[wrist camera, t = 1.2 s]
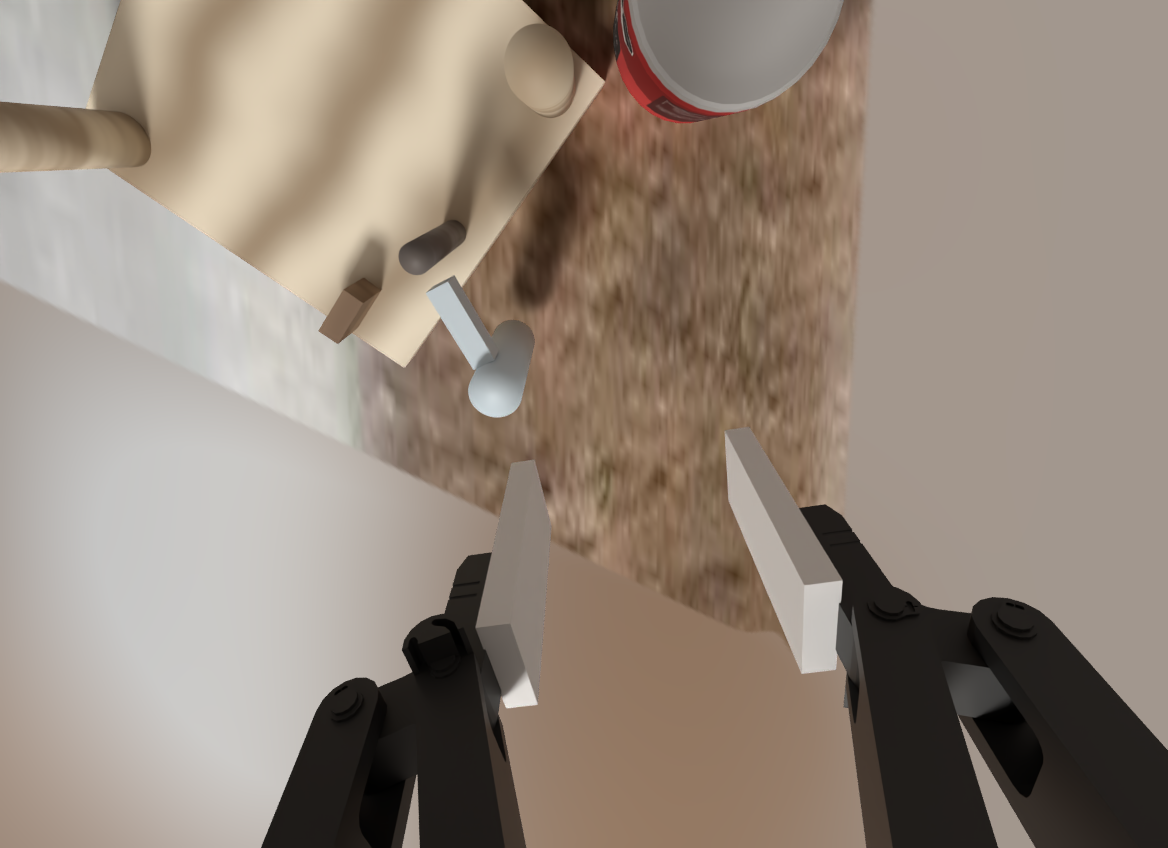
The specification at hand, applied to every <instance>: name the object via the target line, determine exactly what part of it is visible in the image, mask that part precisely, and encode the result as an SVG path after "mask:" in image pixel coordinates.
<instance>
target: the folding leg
mask: <svg viewBox="0 0 1168 848" xmlns="http://www.w3.org/2000/svg"><path fill="white" fill-rule="evenodd" d="M426 295H427V296H428V298H429V299H430V301H431V303H432V304H433V306H434V307H435V309H436V311H437V312H438V314H439V315H440V317H441V319H442V320H443V322H444V323H445V325H446V327H447V328H448V330H449V331H450V333H451V335H452V336H453V338H454V339H455V341H456V343H457V344H458V346H459V347H460V349H461V351H462V352H463V354H464V355H465V357H466V359H467V360H468V362H469V363H470V365H471V367H472V368H473V370H475V369H476V371H475V373H474V375H473V377H472V380H471V382H470V384H469V389H468V393H469V398H470V401H471V403H472V404H473V406H474V407H475V408H476V409H477V410H478V411H479V412H481V413H483V414H485V415H487V416H491V417H504V416H507V415H509V414H511V413H513V412H514V411H515V410H516V409H517V408H518V406H519V405H520V402H521V399H522V395H523V391H524V386H525V382H526V378H527V374H528V369H529V365H530V361H531V357H532V352H533V348H534V343H535V339H534V335H533V332H532V331H531V329H530V328H529V327H528V326H527V325H526V324H524V323H523V322H520V321H517V320H508V321H505V322H503V323H501V324H500V325H498V326H497V328H496V329H495V331H494V333H493V335H492V337H491V336H490V335H489V333H488V331H487V330H486V328H485V326H484V324H483V323H482V321H481V319H480V318H479V316H478V314H477V313H476V311H475V309H474V307H473V306H472V304H471V302H470V301H469V299H468V297H467V296H466V294H465V292H464V291H463V289H462V287H461V285H460V284H459V282H458V280H457V279H456V277H455V275H453V276H452V277H450V278H448V279H446V280H444V281H442V282H440V283H438V284H436V285H434V286H433V287H432V288H431V289H430V290H428V291H427V292H426Z"/></svg>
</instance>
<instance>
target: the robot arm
mask: <svg viewBox="0 0 1168 848" xmlns="http://www.w3.org/2000/svg"><path fill="white" fill-rule="evenodd" d="M725 444H726V462H727V480H728V498H729V503H730V505H731V507H732V510H733V512H734V515H735V517H736V519H737V522H738V524H739V526H740V529H741V531H742V534H743V536H744V538H745V541H746V543H747V545H748V548H749V550H750V552H751V555H752V557H753V560H754V562H755V564H756V567H757V569H758V571H759V574H760V576H761V579H762V581H763V583H764V586H765V588H766V590H767V593H768V595H769V597H770V600H771V602H772V605H773V607H774V609H775V612H776V614H777V616H778V619H779V621H780V624H781V626H782V628H783V631H784V633H785V635H786V638H787V640H788V642H789V645H790V647H791V650H792V652H793V654H794V657H795V659H796V661H797V664H798V666H799V668H800V671H801V673H802V674H803V673H811V672H819V671H828V670H836V662H837V654H838V656H839V658H840V660H841V661H842V663H843V665H844V667H845V669H846V671H847V675H846V686H845V697H844V707H845V708H849V716H850V723H851V731H852V739H853V747H854V755H855V762H856V769H857V778H858V785H859V793H860V801H861V809H862V817H863V824H864V832H865V840H866V848H998V846H997V843H996V839H995V837H994V833H993V830H992V826H991V823H990V820H989V817H988V813H987V810H986V807H985V804H984V800H983V797H982V794H981V791H980V787H979V784H978V781H977V778H976V774H975V771H974V768H973V765H972V761H971V758H970V755H969V752H968V748H967V745H966V742H965V739H964V735H963V732H962V729H961V726H960V723H959V719H958V716H959V718H960V720H961V721H962V723H963V725H964V726H965V728H966V730H967V731H968V733H969V735H970V737H971V738H972V740H973V742H974V743H975V745H976V747H977V749H978V750H979V752H980V754H981V755H982V757H983V759H984V760H985V762H986V764H987V766H988V767H989V769H990V771H991V772H992V774H993V776H994V778H995V779H996V781H997V782H998V784H999V786H1000V788H1001V789H1002V791H1003V793H1004V794H1005V796H1006V798H1007V800H1008V801H1009V803H1010V805H1011V807H1012V808H1013V810H1014V812H1015V813H1016V815H1017V817H1018V818H1019V820H1020V822H1021V824H1022V825H1023V827H1024V829H1025V830H1026V832H1027V834H1028V836H1029V837H1030V839H1031V841H1032V842H1033V844H1034V846H1035V847H1036V848H1168V750H1167V749H1166V748H1165V747H1164V746H1163V744H1162V743H1161V742H1160V741H1159V740H1158V739H1157V738H1156V737H1155V736H1154V735H1153V733H1152V732H1151V731H1150V730H1149V729H1148V728H1147V727H1146V726H1145V724H1143V722H1142V721H1141V720H1140V719H1139V718H1138V717H1137V716H1136V714H1135V713H1134V712H1133V711H1132V710H1131V709H1130V708H1129V707H1128V706H1127V704H1126V703H1125V702H1124V701H1123V700H1122V699H1121V698H1120V697H1119V695H1118V694H1117V693H1116V692H1115V691H1114V690H1113V689H1112V688H1111V686H1110V685H1109V684H1108V683H1107V682H1106V681H1105V680H1104V679H1103V678H1102V676H1101V675H1100V674H1099V673H1098V672H1097V671H1096V670H1095V669H1094V668H1093V666H1092V665H1091V664H1090V663H1089V662H1088V661H1087V660H1086V659H1085V658H1084V656H1083V655H1082V654H1081V653H1080V652H1079V651H1078V650H1077V649H1076V647H1074V645H1073V644H1072V643H1071V642H1070V641H1069V640H1068V639H1067V637H1065V635H1064V634H1063V633H1062V632H1061V631H1060V630H1059V629H1058V627H1057V626H1056V625H1055V624H1054V623H1053V622H1052V621H1051V620H1050V619H1049V618H1048V617H1046V616H1045V615H1044V614H1043V613H1041V612H1040V611H1039V610H1037V609H1035V608H1033V607H1031V606H1029V605H1027V604H1025V603H1022V602H1019V601H1015V600H1012V599H1008V598H996V597H992V598H987V599H983V600H980V601H979V602H978V603H977V604H975V605H974V606H973V609H972V613H964V612H956V611H947V610H939V609H934V608H929V607H926V606H923V605H921V603H920V602H919V601H918V600H917V599H915V598H914V597H913V596H912V595H911V594H909V593H907V592H905V591H902V590H901V589H899V588H896V587H893V586H892V585H891V584H890V582H889V581H888V579H887V578H886V576H885V575H884V574H883V573H882V571H881V569H880V568H879V567H878V565H877V564H876V563H875V561H874V560H873V559H872V557H871V555H870V554H869V553H868V551H867V550H866V549H865V547H864V546H863V544H861V543H860V540H859V539H858V537H857V536H856V534H855V533H854V532H852V529H851V527H850V526H849V525H848V523H847V522H846V520H845V519H844V518H843V516H842V515H841V514H839V513H837V512H836V511H834V510H833V509H831V508H830V507H828V506H827V505H818V506H811V507H803V508H798V506H797V505H796V503H795V501H794V500H793V498H792V496H791V495H790V493H789V491H788V490H787V488H786V486H785V485H784V483H783V482H782V480H781V478H780V477H779V475H778V473H777V472H776V470H775V468H774V467H773V465H772V463H771V462H770V460H769V459H768V457H767V455H766V454H765V452H764V450H763V449H762V447H761V445H760V444H759V442H758V440H757V439H756V437H755V436H754V434H753V432H752V431H751V429H750V427H745V428H738V429H732V430H725ZM550 539H551V522H550V518H549V514H548V510H547V507H546V503H545V499H544V495H543V491H542V487H541V483H540V479H539V475H538V471H537V467H536V463H535V460H529V461H522V462H516V463H511V468H510V472H509V477H508V482H507V486H506V491H505V495H504V500H503V504H502V509H501V513H500V518H499V523H498V527H497V532H496V536H495V541H494V546H493V550H492V552H491V553H484V554H477V555H470V556H468V557H467V558H466V559H465V560H464V562H463V563H462V564H461V566H460V567H459V568H458V569H457V572H456V575H455V579H454V583H453V588H452V590H451V593H450V596H449V600H448V603H447V606H446V610H445V613H444V614H440V615H435V616H431V617H429V618H427V619H425V620H423V621H421V622H420V623H419V624H418V625H416V626H415V627H414V628H413V629H412V630H411V631H410V632H409V634H408V635H407V637H406V638H405V640H404V643H403V648H402V651H403V653H404V655H405V657H406V659H407V661H408V664H409V665H410V668H411V669H412V673H410V674H408V675H406V676H404V677H402V678H400V679H397V680H395V681H392V682H390V683H387V684H385V685H383V686H380V687H377V685H376V684H375V682H374V681H372V680H370V679H368V678H354V679H352V680H349V681H346V682H344V683H342V684H341V685H339V686H338V687H336V688H334V689H333V690H332V691H331V692H330V693H329V694H328V695H327V696H326V697H325V698H324V699H323V700H322V702H321V704H320V706H319V707H318V709H317V711H316V713H315V715H314V718H313V720H312V723H311V725H310V728H309V730H308V733H307V735H306V738H305V740H304V743H303V745H302V748H301V750H300V753H299V755H298V758H297V760H296V762H295V765H294V767H293V770H292V772H291V775H290V777H289V780H288V782H287V785H286V787H285V790H284V792H283V795H282V797H281V800H280V802H279V805H278V807H277V810H276V812H275V814H274V817H273V819H272V822H271V825H270V827H269V829H268V832H267V834H266V837H265V839H264V842H263V844H262V847H261V848H402V844H403V839H404V834H405V829H406V824H407V819H408V814H409V809H410V804H411V798H412V794H413V789H414V784H415V779H416V775H417V774H418V800H419V801H418V802H419V835H420V848H526V845H525V839H524V834H523V829H522V824H521V819H520V814H519V808H518V803H517V798H516V792H515V788H514V782H513V777H512V772H511V767H510V761H509V756H508V751H507V745H506V740H505V735H504V730H503V725H502V722H501V720H500V717H499V715H498V711H499V704H500V697H501V696H502V698H503V701H504V703H505V706H506V708H512V707H521V706H530V705H537V704H538V695H539V682H540V669H541V656H542V643H543V630H544V617H545V603H546V590H547V578H548V565H549V552H550ZM957 714H958V716H957Z"/></svg>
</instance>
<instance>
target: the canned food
mask: <svg viewBox="0 0 1168 848" xmlns="http://www.w3.org/2000/svg"><path fill="white" fill-rule="evenodd" d="M843 1H844V0H618V1H617V6H616V11H615V18H614V25H613V41H614V51H615V56H616V62H617V65H618V68H619V71H620V74H621V77H622V79H623V81H624V83H625V85H626V86H627V88H628V90H629V92H630V93H631V95H632V96H633V97H634V98H635V99H636V101H637V102H638V103H639V104H640V105H641V106H642V107H643V108H645V109H646V110H647V111H648V112H650V113H651V114H653V115H655V116H657V117H659V118H661V119H663V120H666V121H670V122H675V123H693V122H698V121H702V120H707V119H711V118H716V117H721V116H725V115H730V114H734V113H738V112H742V111H747V110H749V109H752V108H756V107H758V106H760V105H762V104H764V103H766V102H768V101H770V100H772V99H774V98H776V97H777V96H779V95H780V94H781V93H783V92H784V91H785V90H787V89H788V88H789V87H791V86H792V85H793V84H795V83H796V82H797V81H798V80H799V79H800V78H801V77H802V76H803V75H804V73H805V72H806V71H807V70H808V69H809V68H810V67H811V66H812V65H813V63H814V62H815V60H816V59H817V57H818V56H819V54H820V53H821V51H822V50H823V48H824V47H825V45H826V44H827V42H828V40H829V38H830V36H831V33H832V31H833V29H834V27H835V25H836V23H837V21H838V18H839V15H840V11H841V8H842V5H843Z"/></svg>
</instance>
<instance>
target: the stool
mask: <svg viewBox="0 0 1168 848" xmlns="http://www.w3.org/2000/svg"><path fill="white" fill-rule="evenodd" d="M604 83H605V81H604V80H603V79H602V78H601V77H600V76H599V75H598V74H597V73H596V72H595V71H594V70H593V69H592V68H591V67H590V66H588V65H587V64H586V63H585V62H584V61H583V60H582V59H581V58H580V57H579V56H578V55H577V54H576V53H575V52H574V51H573V50H572V49H571V48H570V47H569V45H568V43H567V41H566V40H565V39H564V37H563V36H562V35H561V34H560V33H559V32H558V31H557V30H555V29H554V28H552V27H550V26H548V25H547V24H546V23H545V22H544V21H543V20H542V19H541V18H540V17H539V16H538V15H537V14H536V13H535V12H534V11H533V10H532V9H531V8H530V7H529V6H528V5H527V4H526V3H525V2H523V1H522V0H121V1H120V4H119V7H118V10H117V13H116V16H115V19H114V22H113V26H112V29H111V32H110V35H109V38H108V41H107V44H106V47H105V50H104V53H103V57H102V60H101V63H100V66H99V69H98V72H97V75H96V78H95V81H94V84H93V88H92V91H91V94H90V97H89V100H88V103H87V106H86V109H82V108H70V107H58V106H46V105H34V104H21V103H9V102H0V173H2V172H27V171H52V170H77V169H102V168H107V169H109V170H110V171H112V172H113V173H115V174H116V175H118V176H119V177H121V178H122V179H124V180H125V181H127V182H128V183H130V184H131V185H133V186H134V187H135V188H137V189H138V190H140V191H141V192H143V193H144V194H146V195H147V196H149V197H150V198H152V199H153V200H155V201H156V202H158V203H159V204H161V205H162V206H164V207H165V208H167V209H168V210H170V211H171V212H173V213H174V214H176V215H177V216H179V217H180V218H182V219H183V220H185V221H186V222H188V223H189V224H191V225H192V226H194V227H195V228H197V229H198V230H200V231H201V232H203V233H204V234H206V235H207V236H209V237H210V238H211V239H213V240H214V241H216V242H217V243H219V244H220V245H222V246H223V247H225V248H226V249H228V250H229V251H231V252H232V253H234V254H235V255H237V256H238V257H240V258H241V259H243V260H244V261H246V262H247V263H249V264H250V265H252V266H253V267H255V268H256V269H258V270H259V271H261V272H262V273H264V274H265V275H267V276H268V277H270V278H271V279H273V280H274V281H276V282H277V283H279V284H280V285H282V286H283V287H285V288H286V289H287V290H289V291H290V292H292V293H293V294H295V295H296V296H298V297H299V298H301V299H302V300H304V301H305V302H307V303H308V304H310V305H311V306H313V307H314V308H316V309H317V310H319V311H320V312H322V313H323V314H325V315H326V316H327V317H326V319H325V321H324V322H323V324H322V326H321V327H320V329H319V332H320V333H322V334H324V335H325V336H327V337H328V338H330V339H331V340H333V341H334V342H336V343H337V344H338V343H340V342H341V341H342V340H343V339H345V338H346V337H347V336H348V335H350V334H351V333H353V334H355V335H356V336H358V337H359V338H361V339H362V340H363V341H365V342H366V343H368V344H369V345H371V346H372V347H374V348H375V349H377V350H378V351H380V352H381V353H383V354H384V355H386V356H387V357H389V358H390V359H392V360H393V361H395V362H396V363H398V364H399V365H401V366H402V367H404V368H405V367H406V366H407V364H408V363H409V362H410V361H411V359H412V358H413V357H414V356H415V354H416V353H417V352H418V350H419V349H420V347H421V346H422V344H423V343H424V342H425V340H426V339H427V337H428V336H429V334H430V333H431V332H432V330H433V329H434V327H435V326H436V324H437V323H438V322H439V320H440V319H441V317H440V315H439V314H438V312H437V311H436V309H435V307H434V306H433V304H432V303H431V301H430V299H429V298H428V296H427V295H426V292H427V291H428V290H430V289H431V288H432V287H433V286H434V285H436V284H438V283H440V282H442V281H444V280H446V279H448V278H450V277H452V276H453V275H455V277H456V279H457V280H458V282H459V284H460V285H461V287H463V286H464V285H465V283H466V282H467V280H468V279H469V277H470V276H471V275H472V273H473V272H474V270H475V269H476V267H477V266H478V265H479V263H480V262H481V260H482V259H483V258H484V256H485V255H486V253H487V252H488V250H489V249H490V248H491V246H492V245H493V243H494V242H495V240H496V239H497V238H498V236H499V235H500V233H501V232H502V230H503V229H504V228H505V226H506V225H507V223H508V222H509V220H510V219H511V218H512V216H513V215H514V213H515V212H516V211H517V209H518V208H519V206H520V205H521V203H522V202H523V201H524V199H525V198H526V196H527V195H528V193H529V192H530V191H531V189H532V188H533V186H534V185H535V183H536V182H537V181H538V179H539V178H540V176H541V175H542V173H543V172H544V171H545V169H546V168H547V166H548V165H549V163H550V162H551V161H552V159H553V158H554V156H555V155H556V154H557V152H558V151H559V149H560V148H561V146H562V145H563V144H564V142H565V141H566V139H567V138H568V136H569V135H570V134H571V132H572V131H573V129H574V128H575V126H576V125H577V124H578V122H579V121H580V119H581V118H582V116H583V115H584V114H585V112H586V111H587V109H588V108H589V107H590V105H591V104H592V102H593V101H594V99H595V98H596V97H597V95H598V94H599V92H600V91H601V89H602V88H603V86H604Z"/></svg>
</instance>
